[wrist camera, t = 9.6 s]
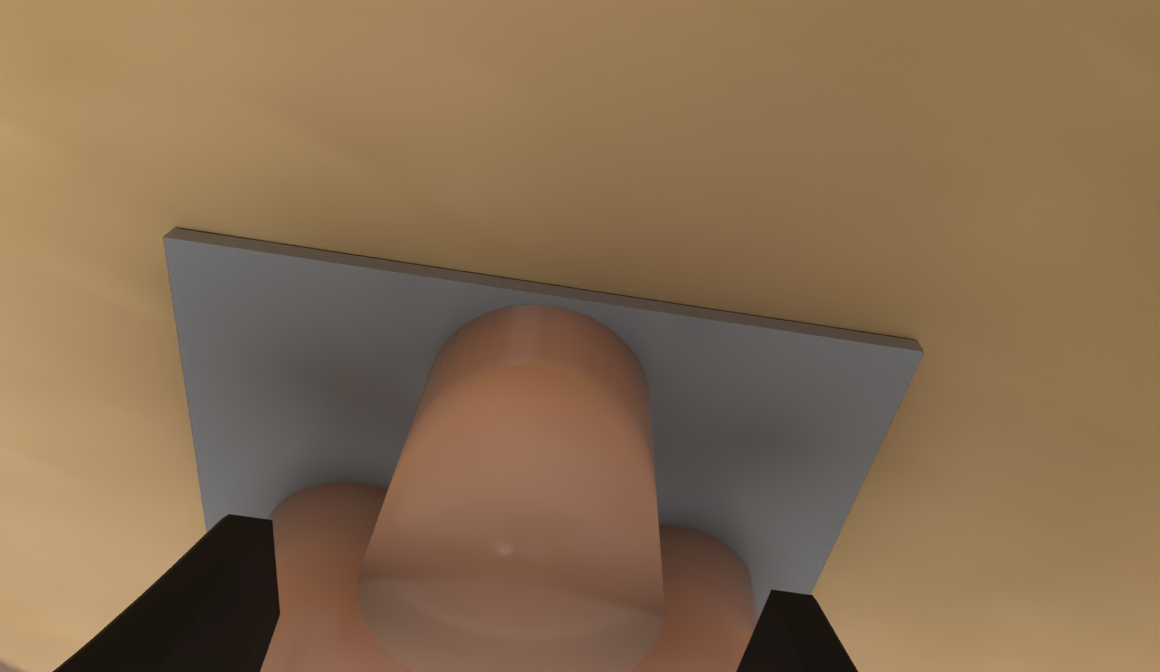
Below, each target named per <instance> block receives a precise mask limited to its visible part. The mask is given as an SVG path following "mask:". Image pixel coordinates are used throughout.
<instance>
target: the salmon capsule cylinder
mask: <svg viewBox="0 0 1160 672" xmlns="http://www.w3.org/2000/svg"><path fill="white" fill-rule="evenodd" d="M659 536H660V550H661V564H662V578H663V592H664V606H665V612H664V620H663V625H662V628H661V631H660V634H659V637H658V638H657V640H656V642H655V644H654V646H653V647H652V649H651V650H650V651H649V653H648V654H647V655H646V656H645V658H644V659H643V660H642V661H641V662H640V663H638V664H637V665H636V666H635V667H634V668H633V669H632V670H630V671H629V672H736V671H737V669H738V666H739V664H740V662H741V659H742V657H743V655H744V652H745V650H746V648H747V645H748V643H749V641H750V638H751V636H752V634H753V631H754V629H755V627H756V624H757V622H758V620H759V615H758V610H757V605H756V600H755V595H754V590H753V585H752V580H751V576H750V573H749V571H748V569H747V567H746V565H745V563H744V562H743V560H742V559H741V558H740V556H739V555H738V554H737V553H736V552H735V551H733V550H732V549H731V548H730V547H728V546H727V545H726V544H724V543H723V542H721V541H719V540H717V539H716V538H714V537H711V536H709V535H706V534H704V533H701V532H698V531H694V530H691V529H686V528H680V527H671V526H659Z"/></svg>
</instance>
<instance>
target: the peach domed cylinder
mask: <svg viewBox="0 0 1160 672" xmlns="http://www.w3.org/2000/svg"><path fill="white" fill-rule="evenodd" d="M387 491H388V490H385V489H382V488H378V487H375V486H369V485H364V484H356V483H328V484H320V485H316V486H312V487H308V488H305V489H303V490H300V491H298V492H296V493H294V494H292V495H290V496H288V497H287V498H286V499H284V500H283V501H282V502H280V503H279V504H278V506H277V507H276V508H275V509H274V510H273V512H272V513H271V515H270V516H269V518H268V519H269V520H272V523H273V534H274V546H275V558H276V570H277V581H278V593H279V605H280V616H279V619H278V622H277V625H276V628H275V631H274V634H273V637H272V639H271V642H270V645H269V648H268V651H267V654H266V657H265V659H264V662H263V665H262V668H261V670H260V672H412V671H411V670H409V669H408V668H406V667H404V666H403V665H402V664H401V663H399V662H398V661H397V660H395V659H394V658H393V657H392V656H391V655H390V654H389V653H387V652H386V651H385V650H384V649H383V648H382V647H381V646H380V644H379V643H378V642H377V641H376V639H375V638H374V637H373V636H372V634H371V632H370V631H369V629H368V627H367V626H366V624H365V622H364V619H363V617H362V614H361V612H360V609H359V603H358V598H357V581H358V576H359V572H360V568H361V565H362V562H363V559H364V556H365V554H366V551H367V548H368V545H369V542H370V539H371V537H372V534H373V531H374V528H375V525H376V523H377V520H378V517H379V514H380V511H381V508H382V506H383V503H384V500H385V497H386V494H387Z"/></svg>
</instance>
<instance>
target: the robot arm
mask: <svg viewBox="0 0 1160 672" xmlns="http://www.w3.org/2000/svg"><path fill="white" fill-rule="evenodd" d="M279 616H280V605H279V593H278V581H277V570H276V558H275V546H274V534H273V523H272V520H269V519H262V518H254V517H247V516H240V515H233V514H228V515H227V516H225V517H223V518H222V519H221V520H220V521H219V522H218V523H217V524H216V525H214V526H213V527H212V528H211V529H210V530H209V531H208V532H207V533H206V534H205V535H204V536H203V537H202V538H201V539H200V540H199V541H198V542H197V543H196V544H195V545H194V546H193V547H192V548H191V549H190V550H189V551H188V552H187V553H186V554H185V555H184V556H182V557H181V558H180V559H179V560H178V561H177V562H176V563H175V564H174V565H173V566H172V567H171V568H170V569H169V570H168V571H167V572H166V573H165V574H163V575H162V576H161V577H160V578H159V579H158V580H157V581H156V582H155V583H154V584H153V585H152V586H151V587H150V588H148V589H147V590H146V591H145V592H144V593H143V594H142V595H141V596H140V597H139V598H138V599H136V600H135V601H134V602H133V603H132V604H131V605H130V606H129V607H127V608H126V609H125V610H124V611H123V612H122V613H121V614H120V615H118V616H117V617H116V618H115V619H114V620H113V621H112V622H111V623H109V624H108V625H107V626H106V627H105V628H104V629H103V630H102V631H100V632H99V633H98V634H97V635H96V636H95V637H94V638H93V639H91V640H90V641H89V642H88V643H87V644H86V645H84V646H83V647H82V648H81V649H80V650H79V651H77V652H76V653H75V654H74V655H73V656H71V657H70V658H69V659H68V660H66V661H65V662H64V663H63V664H62V665H60V666H59V667H58V668H57V669H56V670H54V671H53V672H260V670H261V668H262V665H263V662H264V659H265V657H266V654H267V651H268V648H269V645H270V642H271V639H272V637H273V634H274V631H275V628H276V625H277V622H278V619H279ZM736 672H858V671H857V669H856V667H855V666H854V664H853V662H852V661H851V659H850V657H849V655H848V654H847V652H846V650H845V649H844V647H843V645H842V644H841V642H840V640H839V638H838V637H837V635H836V633H835V632H834V630H833V628H832V626H831V625H830V623H829V621H828V620H827V618H826V616H825V614H824V613H823V611H822V609H821V607H820V606H819V604H818V602H817V601H816V599H815V598H814V597H813V595H808V594H800V593H793V592H786V591H779V590H772V589H771V592H770V594H769V596H768V599H767V601H766V603H765V606H764V608H763V610H762V613H761V615H760V617H759V620H758V622H757V624H756V627H755V629H754V631H753V634H752V636H751V638H750V641H749V643H748V645H747V648H746V650H745V652H744V655H743V657H742V659H741V662H740V664H739V666H738V669H737V671H736Z"/></svg>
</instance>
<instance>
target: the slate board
mask: <svg viewBox="0 0 1160 672" xmlns="http://www.w3.org/2000/svg"><path fill="white" fill-rule="evenodd" d="M163 240H164V247H165V253H166V260H167V267H168V274H169V280H170V287H171V294H172V301H173V307H174V314H175V321H176V328H177V334H178V341H179V348H180V355H181V361H182V368H183V375H184V382H185V388H186V395H187V402H188V409H189V415H190V422H191V429H192V436H193V443H194V449H195V456H196V463H197V470H198V476H199V483H200V490H201V497H202V503H203V510H204V517H205V524H206V530H207V532H208V531H209V530H210V529H211V528H212V527H213V526H214V525H216V524H217V523H218V522H219V521H220V520H221V519H222V518H223V517H225V516H227V515H228V514H233V515H240V516H247V517H254V518H262V519H268V518H269V516H270V515H271V513H272V512H273V510H274V509H275V508H276V507H277V506H278V504H279V503H280V502H282V501H283V500H284V499H286V498H287V497H288V496H290V495H292V494H294V493H296V492H298V491H300V490H303V489H305V488H308V487H312V486H316V485H320V484H328V483H356V484H364V485H369V486H375V487H378V488H382V489H385V490H388V489H389V486H390V483H391V480H392V477H393V474H394V472H395V469H396V466H397V463H398V460H399V457H400V455H401V452H402V449H403V446H404V443H405V440H406V438H407V435H408V432H409V429H410V426H411V424H412V421H413V418H414V415H415V412H416V409H417V407H418V404H419V401H420V398H421V395H422V392H423V390H424V387H425V384H426V381H427V378H428V375H429V373H430V370H431V367H432V365H433V362H434V360H435V357H436V355H437V354H438V352H439V350H440V349H441V347H442V346H443V344H444V343H445V342H446V341H447V340H448V339H449V337H450V336H451V335H452V334H453V333H455V332H456V331H457V330H458V329H459V328H460V327H462V326H463V325H465V324H466V323H468V322H469V321H471V320H473V319H475V318H477V317H479V316H481V315H483V314H485V313H488V312H491V311H494V310H497V309H500V308H506V307H511V306H517V305H549V306H555V307H561V308H565V309H569V310H573V311H576V312H579V313H581V314H584V315H586V316H589V317H591V318H593V319H595V320H597V321H598V322H600V323H602V324H604V325H605V326H607V327H608V328H609V329H611V330H612V331H614V332H615V333H616V334H617V335H618V336H619V337H621V338H622V339H623V340H624V341H625V342H626V343H627V344H628V346H629V347H630V348H631V349H632V351H633V352H634V353H635V355H636V356H637V358H638V360H639V361H640V363H641V365H642V367H643V370H644V372H645V375H646V378H647V382H648V387H649V397H650V411H651V425H652V439H653V453H654V467H655V481H656V494H657V508H658V522H659V526H671V527H680V528H686V529H691V530H694V531H698V532H701V533H704V534H706V535H709V536H711V537H714V538H716V539H717V540H719V541H721V542H723V543H724V544H726V545H727V546H728V547H730V548H731V549H732V550H733V551H735V552H736V553H737V554H738V555H739V556H740V558H741V559H742V560H743V562H744V563H745V565H746V567H747V569H748V571H749V573H750V576H751V580H752V585H753V590H754V595H755V600H756V605H757V610H758V615H759V617H760V615H761V613H762V610H763V608H764V606H765V603H766V601H767V599H768V596H769V594H770V592H771V589H772V590H779V591H786V592H793V593H800V594H808V595H810V594H811V592H812V590H813V588H814V586H815V584H816V582H817V580H818V577H819V575H820V573H821V571H822V569H823V567H824V565H825V563H826V560H827V558H828V556H829V554H830V552H831V550H832V548H833V545H834V543H835V541H836V539H837V537H838V535H839V533H840V531H841V528H842V526H843V524H844V522H845V520H846V518H847V516H848V513H849V511H850V509H851V507H852V505H853V503H854V501H855V499H856V496H857V494H858V492H859V490H860V488H861V486H862V484H863V482H864V479H865V477H866V475H867V473H868V471H869V469H870V467H871V464H872V462H873V460H874V458H875V456H876V454H877V452H878V450H879V447H880V445H881V443H882V441H883V439H884V437H885V435H886V432H887V430H888V428H889V426H890V424H891V422H892V420H893V418H894V415H895V413H896V411H897V409H898V407H899V405H900V403H901V400H902V398H903V396H904V394H905V392H906V390H907V388H908V386H909V383H910V381H911V379H912V377H913V375H914V373H915V371H916V369H917V366H918V364H919V362H920V360H921V358H922V356H923V354H924V351H923V349H922V348H921V346H920V344H919V343H918V341H917V340H910V339H904V338H897V337H890V336H884V335H877V334H871V333H864V332H857V331H851V330H844V329H838V328H831V327H824V326H818V325H811V324H805V323H798V322H792V321H785V320H778V319H772V318H765V317H759V316H752V315H745V314H739V313H732V312H726V311H719V310H712V309H706V308H699V307H693V306H686V305H679V304H673V303H666V302H660V301H653V300H646V299H640V298H633V297H627V296H620V295H613V294H607V293H600V292H594V291H587V290H580V289H574V288H567V287H561V286H554V285H547V284H541V283H534V282H528V281H521V280H514V279H508V278H501V277H495V276H488V275H481V274H475V273H468V272H462V271H455V270H448V269H442V268H435V267H429V266H422V265H415V264H409V263H402V262H396V261H389V260H382V259H376V258H369V257H363V256H356V255H349V254H343V253H336V252H330V251H323V250H316V249H310V248H303V247H297V246H290V245H283V244H277V243H270V242H264V241H257V240H250V239H244V238H237V237H231V236H224V235H217V234H211V233H204V232H198V231H191V230H184V229H178V228H173V229H172V230H171V231H170V232H169V233H167V234H166V235H165V236H164V237H163Z"/></svg>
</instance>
